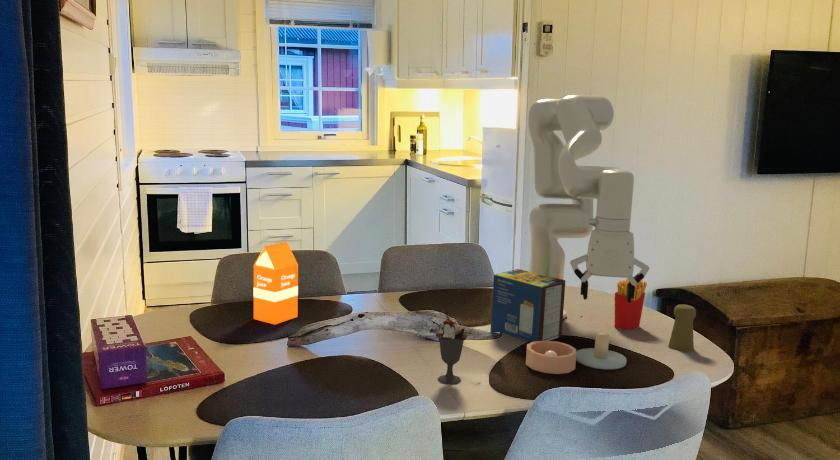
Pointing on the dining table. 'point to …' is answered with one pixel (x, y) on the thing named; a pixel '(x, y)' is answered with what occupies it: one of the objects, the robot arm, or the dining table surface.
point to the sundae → (450, 348)
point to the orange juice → (275, 284)
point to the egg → (551, 353)
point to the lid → (601, 355)
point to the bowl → (551, 357)
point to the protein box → (527, 305)
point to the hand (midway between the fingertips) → (606, 299)
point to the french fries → (629, 306)
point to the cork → (683, 329)
